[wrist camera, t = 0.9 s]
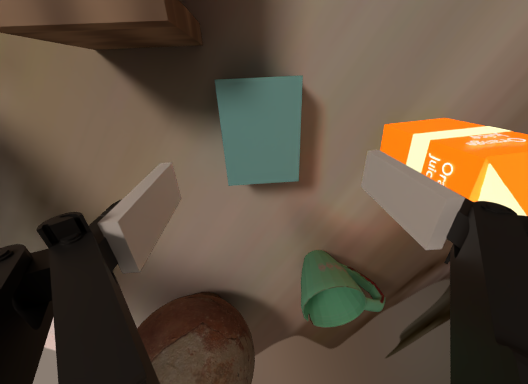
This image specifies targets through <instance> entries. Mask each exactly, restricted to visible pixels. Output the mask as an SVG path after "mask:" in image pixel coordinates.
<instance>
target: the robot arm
mask: <svg viewBox="0 0 528 384" xmlns="http://www.w3.org/2000/svg"><path fill="white" fill-rule="evenodd" d="M361 187H362V188H363V189H364V190H365V191H366V192H367V193H368V194H369V195H370V196H371V197H372V198H373V199H374V200H375V201H376V202H377V203H378V204H379V205H380V206H381V207H382V208H383V209H384V210H385V211H386V212H387V213H388V214H389V215H390V216H391V217H392V218H393V219H394V220H395V221H396V222H397V223H398V224H400V225H401V226H402V227H403V228H404V229H405V230H406V231H407V232H408V233H409V234H410V235H411V236H412V237H413V238H414V239H415V240H416V241H417V242H418V243H419V244H420V245H421V246H422V247H423V248H424V249H425V250H435V249H442V247H443V245H444V243H445V241H446V239H448V240H450V241H451V242H452V243H453V246H452V248H451V250H450V252H449V254H448V256H447V258H446V261H445V263H446V264H448V262H449V261H450V325H451V327H450V335H451V337H450V341H451V345H450V347H451V348H450V349H451V352H450V353H451V384H528V216H523V215H517V213H516V212H515V211H514V210H512V209H511V208H508V207H506V206H504V205H501V204H498V203H494V202H488V201H476V202H472V201H471V200H469V199H467V198H465V197H463V196H462V195H460V194H458V193H456V192H454V191H452V190H451V189H449V188H447V187H445V186H444V185H442V184H440V183H438V182H436V181H434V180H432V179H431V178H429V177H427V176H425V175H423V174H422V173H420V172H418V171H416V170H414V169H413V168H411V167H409V166H407V165H405V164H404V163H402V162H400V161H398V160H396V159H395V158H393V157H391V156H389V155H387V154H385V153H384V152H382V151H380V150H368V152H367V157H366V162H365V167H364V173H363V178H362V183H361ZM180 200H181V195H180V191H179V187H178V183H177V179H176V175H175V172H174V168H173V164H172V162H170V163H160V164H159V165H158V166H157V167H156V168H155V169H154V170H153V171H152V172H150V173H149V174H148V175H147V176H146V177H145V178H144V179H143V180H142V181H141V182H140V183H139V184H138V185H137V186H136V187H135V188H134V189H133V190H132V191H131V192H130V193H128V194H127V195H126V196H125V197H124V198H123V199H121V200H119V201H117V202H115V203H114V204H112V205H111V206H110V207H109V208H108V209H106V211H104V212H103V213H102V214H101V216H99V217H98V218H97V219H96V220H94V221H93V222H92V223H91V224H90V225H89V226H88V224H87V222H86V220H85V218H84V216H83V215H82V214H81V213H79V212H71V213H65V214H61V215H58V216H56V217H53V218H51V219H49V220H47V221H45V222H43V223H42V224H41V225H40V226H38V228H37V232H38V233H39V235H40V236H41V237H42V239H43V240H44V242H45V243H46V245H47V246H48V248H49V249H46V250H42V251H38V252H33V253H30V252H29V251H28V250H27V248H26V247H25V246H24V245H20V244H16V245H11V246H7V247H4V248H0V384H32V383H33V380H34V377H35V374H36V371H37V367H38V364H39V361H40V358H41V355H42V351H43V348H44V345H45V342H46V339H47V335H48V332H49V329H50V326H51V323H52V319H53V316H54V329H55V342H56V356H57V369H58V382H59V384H160V382H159V380H158V377H157V375H156V373H155V370H154V368H153V366H152V363H151V361H150V358H149V356H148V354H147V351H146V349H145V346H144V344H143V342H142V339H141V337H140V334H139V332H138V330H137V327H136V325H135V322H134V320H133V318H132V315H131V313H130V310H129V308H128V306H127V303H126V301H125V298H124V296H123V294H122V291H121V289H120V286H119V284H118V282H117V279H116V277H115V275H114V273H113V270H114V268H115V267H116V265H117V264H118V265H119V267H120V269H121V271H122V273H135V272H140V271H141V269H142V268H143V266H144V264H145V262H146V261H147V259H148V257H149V255H150V254H151V252H152V250H153V248H154V246H155V245H156V243H157V241H158V239H159V238H160V236H161V234H162V232H163V231H164V229H165V227H166V225H167V223H168V222H169V220H170V218H171V216H172V215H173V213H174V211H175V209H176V207H177V206H178V204H179V202H180Z"/></svg>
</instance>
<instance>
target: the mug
mask: <svg viewBox="0 0 528 384" xmlns="http://www.w3.org/2000/svg"><path fill="white" fill-rule="evenodd" d="M357 284H358V285H359V286H360V287H362V288H363V289H364V290H366V291H367V292H368V293H369V294H370V295H371V297H372V298H373V299H370V298H366V297H365V295H364V293H363V292H362V290H361V289H360V287H359V286H358V285H357ZM384 303H385V296H384V295H383V293H382V292H381V291H380V289H379V288H378V287H377V285H376V284H375V283H374V282H373V281H371V280H370V279H368V278H367V277H365V276H364V275H362V274H361V273H359V272H358V271H356V270H355V269H353V268H351V267H348V266H346V265H343V264H341V263H338V262H337V261H336V260H335V259H334V258H332V257H331V256H330V255H329V254H327V253H326V252H325V251H322V250H315V251H312V252H310V253H308V254H307V255H306V256H305V258H304V263H303V268H302V277H301V308H302V312H303V316H304V318H305V319H306V320H307V321H308V314H309V317H310V320H311V322H312V324H313V325H315V326H320V327H335V326H339V325H343V324H346V323H348V322H350V321H352V320H354V319H355V318H357V317H358V316H359V315H360V314H361V313H362V312H363V311H364V310H368V311H375V312H380V311H381V310H382V309H383V306H384Z"/></svg>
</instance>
